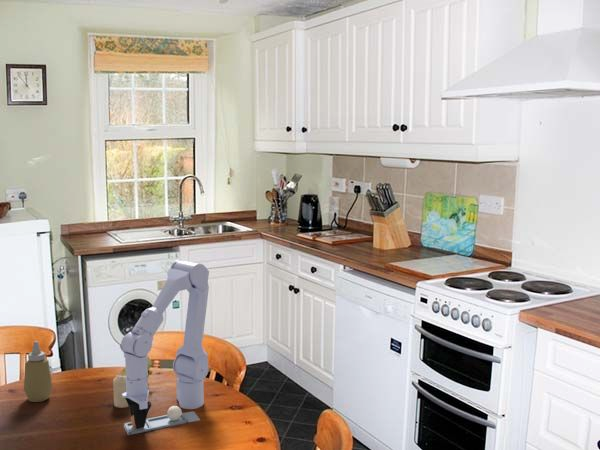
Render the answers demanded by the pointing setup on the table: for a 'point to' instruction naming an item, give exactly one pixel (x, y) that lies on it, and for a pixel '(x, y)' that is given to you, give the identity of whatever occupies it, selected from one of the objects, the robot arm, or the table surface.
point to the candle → (119, 390)
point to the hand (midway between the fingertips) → (138, 423)
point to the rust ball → (133, 421)
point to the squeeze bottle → (37, 376)
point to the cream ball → (174, 413)
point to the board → (161, 423)
